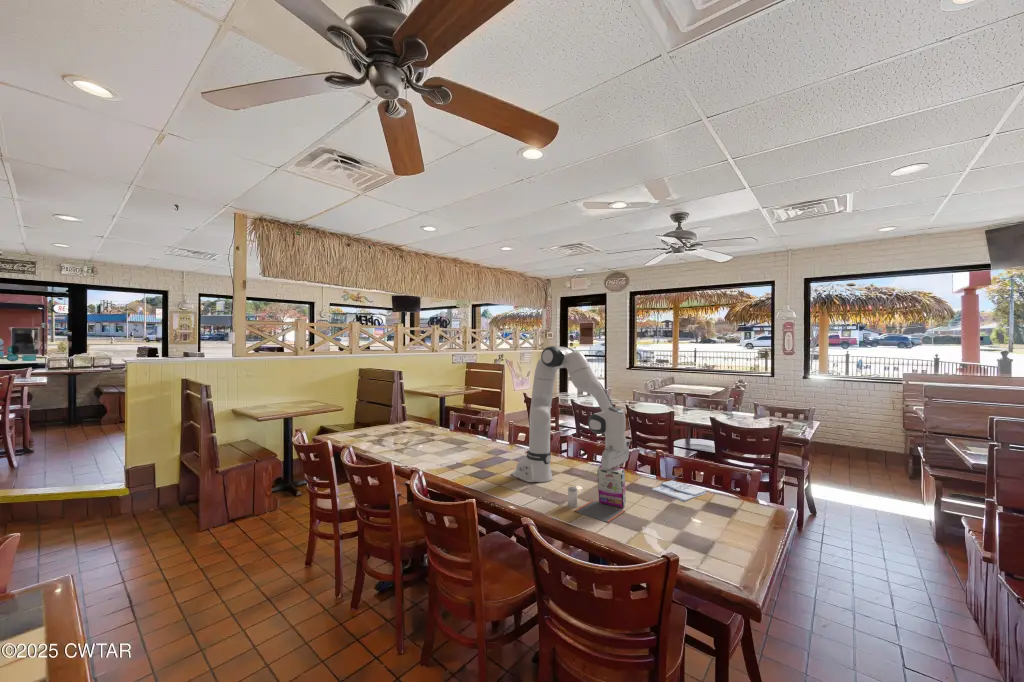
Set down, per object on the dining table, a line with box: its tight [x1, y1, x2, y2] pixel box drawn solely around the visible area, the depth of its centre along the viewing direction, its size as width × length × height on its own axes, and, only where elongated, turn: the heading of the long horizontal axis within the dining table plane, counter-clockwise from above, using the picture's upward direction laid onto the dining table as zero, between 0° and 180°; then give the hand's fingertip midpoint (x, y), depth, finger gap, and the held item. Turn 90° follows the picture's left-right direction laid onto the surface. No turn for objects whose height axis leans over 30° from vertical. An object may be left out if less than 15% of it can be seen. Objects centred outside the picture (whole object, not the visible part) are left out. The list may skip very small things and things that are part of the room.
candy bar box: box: [596, 465, 627, 509], centre depth 180 cm, size 11×5×16 cm, turn 61°
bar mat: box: [574, 500, 626, 524], centre depth 173 cm, size 16×15×1 cm
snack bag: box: [650, 480, 707, 503], centre depth 198 cm, size 19×20×2 cm
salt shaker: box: [567, 486, 578, 509], centre depth 179 cm, size 4×4×8 cm
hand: (614, 474), depth 183 cm, fingers closed
